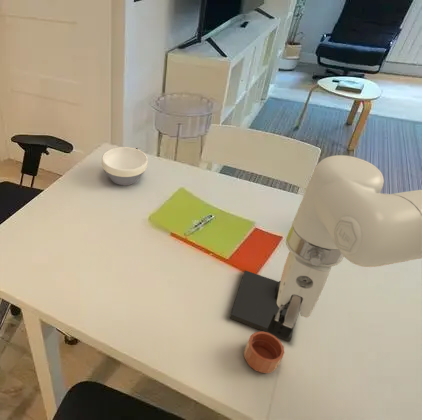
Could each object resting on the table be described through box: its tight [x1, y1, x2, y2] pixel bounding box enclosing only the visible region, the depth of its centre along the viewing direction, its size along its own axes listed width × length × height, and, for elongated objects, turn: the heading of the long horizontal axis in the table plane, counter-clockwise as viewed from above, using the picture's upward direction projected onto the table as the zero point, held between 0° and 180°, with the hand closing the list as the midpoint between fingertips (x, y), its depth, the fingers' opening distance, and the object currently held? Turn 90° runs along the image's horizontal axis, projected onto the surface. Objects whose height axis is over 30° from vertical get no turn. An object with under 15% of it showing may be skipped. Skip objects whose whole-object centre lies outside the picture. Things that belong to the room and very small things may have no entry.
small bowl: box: [243, 330, 285, 374], centre depth 71 cm, size 6×6×4 cm
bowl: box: [101, 146, 149, 186], centre depth 119 cm, size 14×14×8 cm
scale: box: [229, 270, 294, 342], centre depth 81 cm, size 13×14×3 cm
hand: (280, 316), depth 63 cm, fingers open, 6 cm apart
